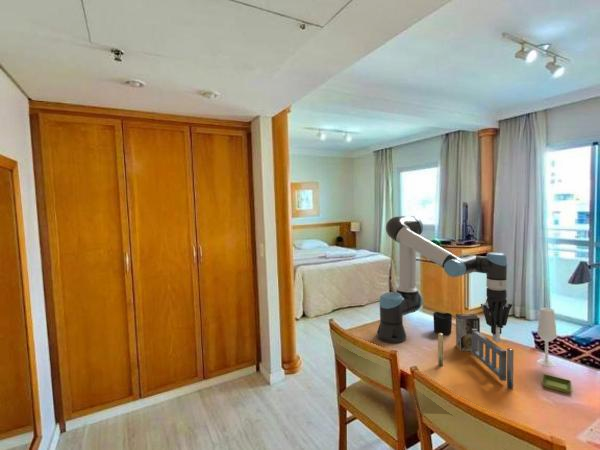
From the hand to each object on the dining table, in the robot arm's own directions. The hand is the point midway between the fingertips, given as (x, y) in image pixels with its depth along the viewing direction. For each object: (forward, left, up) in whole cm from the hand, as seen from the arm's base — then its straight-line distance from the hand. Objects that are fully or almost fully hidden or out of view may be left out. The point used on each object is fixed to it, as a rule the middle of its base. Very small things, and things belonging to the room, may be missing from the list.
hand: (496, 341), depth 143 cm
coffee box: (-14, +7, -10) cm, 19 cm away
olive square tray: (+22, -5, -11) cm, 25 cm away
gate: (-1, -9, -9) cm, 12 cm away
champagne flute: (+16, +14, -10) cm, 24 cm away
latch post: (-17, -18, -10) cm, 26 cm away
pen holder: (-31, +19, -10) cm, 38 cm away
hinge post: (+9, -18, -10) cm, 22 cm away
